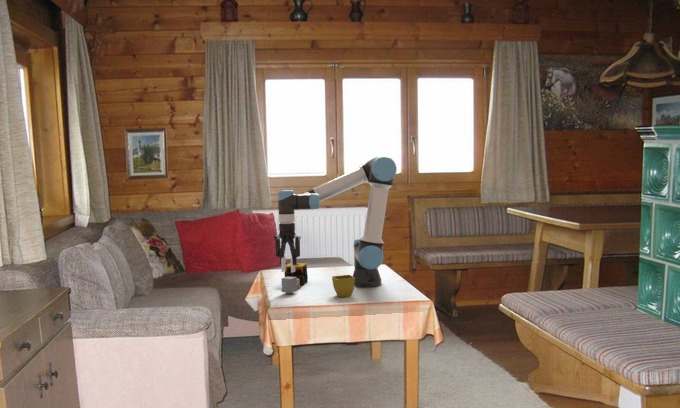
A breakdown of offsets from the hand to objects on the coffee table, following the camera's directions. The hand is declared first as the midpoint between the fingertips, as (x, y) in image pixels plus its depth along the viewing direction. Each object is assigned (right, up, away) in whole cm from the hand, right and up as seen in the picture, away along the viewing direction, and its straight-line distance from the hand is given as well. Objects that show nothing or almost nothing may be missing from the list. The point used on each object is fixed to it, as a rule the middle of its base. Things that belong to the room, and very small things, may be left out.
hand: (288, 271), depth 303 cm
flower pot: (+26, -11, -8) cm, 29 cm away
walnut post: (0, -11, +1) cm, 11 cm away
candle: (+2, -9, +24) cm, 26 cm away
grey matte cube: (0, -10, +1) cm, 10 cm away
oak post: (+3, -10, +11) cm, 15 cm away
